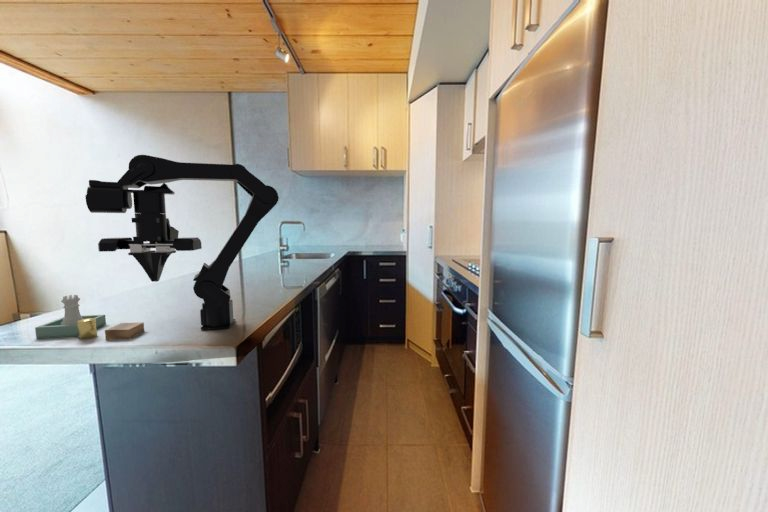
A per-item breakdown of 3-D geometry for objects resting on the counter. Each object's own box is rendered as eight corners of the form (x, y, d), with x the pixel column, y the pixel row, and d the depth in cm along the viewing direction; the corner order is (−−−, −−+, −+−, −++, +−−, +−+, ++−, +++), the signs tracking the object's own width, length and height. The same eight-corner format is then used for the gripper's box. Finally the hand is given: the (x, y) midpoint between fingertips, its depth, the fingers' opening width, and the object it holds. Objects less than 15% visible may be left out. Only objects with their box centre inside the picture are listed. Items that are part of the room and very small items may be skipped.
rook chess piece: (69, 332, 73) (66, 298, 72) (55, 330, 74) (51, 297, 73) (91, 326, 77) (88, 294, 76) (77, 324, 78) (74, 293, 77)
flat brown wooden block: (144, 332, 76) (143, 322, 75) (129, 340, 71) (128, 329, 70) (122, 333, 75) (121, 322, 75) (105, 340, 70) (104, 330, 70)
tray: (106, 324, 81) (105, 314, 80) (80, 335, 72) (79, 325, 72) (66, 325, 79) (65, 316, 79) (36, 338, 70) (35, 327, 70)
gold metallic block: (100, 334, 73) (98, 317, 73) (91, 339, 70) (89, 321, 70) (85, 335, 73) (83, 318, 72) (75, 340, 70) (73, 322, 69)
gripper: (207, 214, 81) (211, 274, 83) (125, 214, 77) (130, 276, 79) (190, 213, 70) (194, 282, 72) (93, 212, 66) (99, 285, 68)
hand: (155, 281), depth 73 cm, fingers closed
